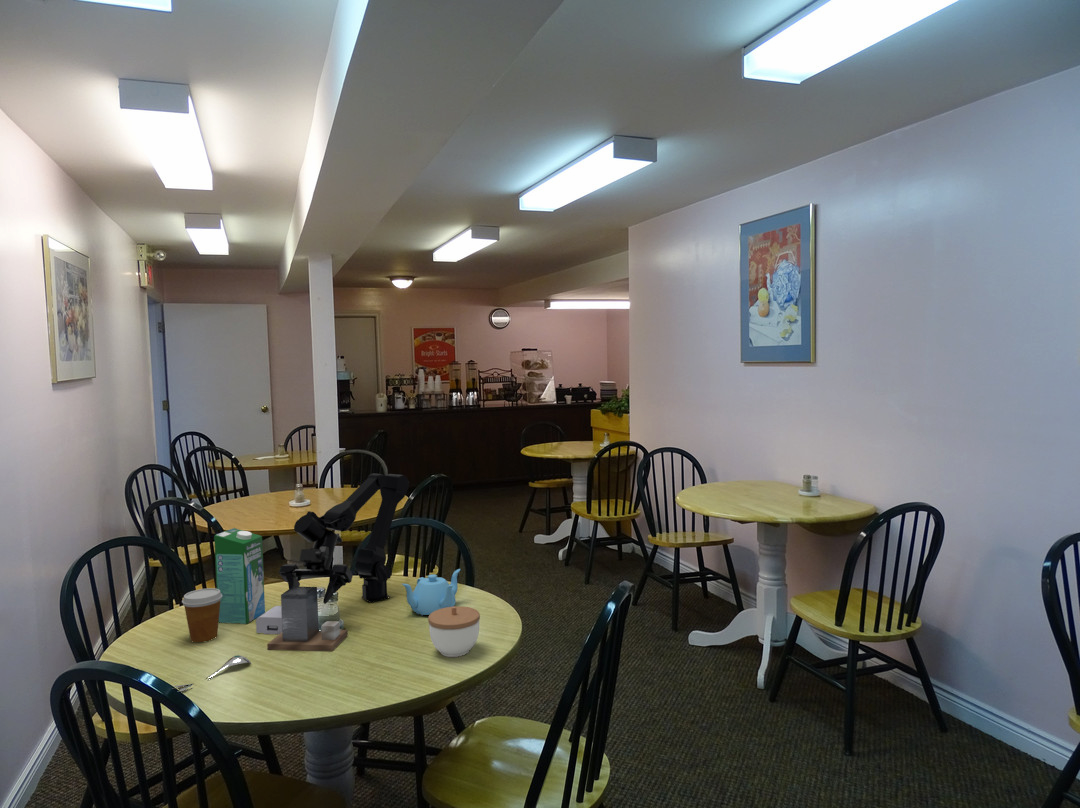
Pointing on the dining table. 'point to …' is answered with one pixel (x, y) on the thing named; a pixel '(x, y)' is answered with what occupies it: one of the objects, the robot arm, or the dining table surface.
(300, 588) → the dark grey tall block
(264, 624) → the charger
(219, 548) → the milk carton
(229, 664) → the silver metal spoon
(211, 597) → the disposable coffee cup
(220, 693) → the dining table surface
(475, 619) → the lidded bowl
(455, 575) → the teapot
